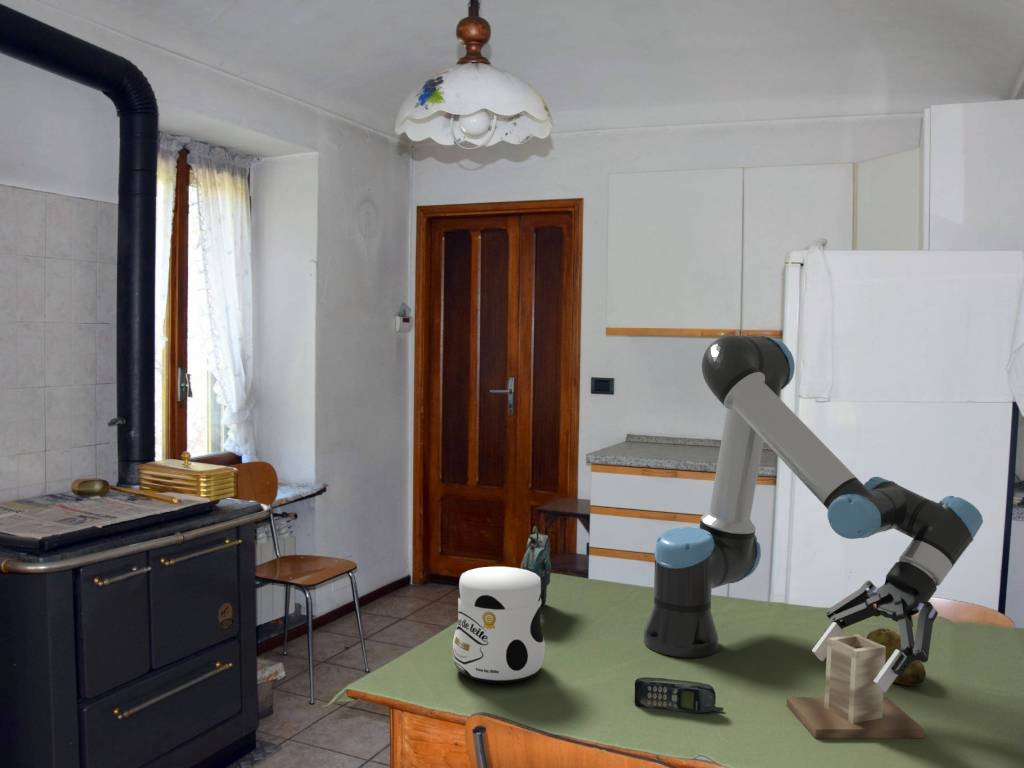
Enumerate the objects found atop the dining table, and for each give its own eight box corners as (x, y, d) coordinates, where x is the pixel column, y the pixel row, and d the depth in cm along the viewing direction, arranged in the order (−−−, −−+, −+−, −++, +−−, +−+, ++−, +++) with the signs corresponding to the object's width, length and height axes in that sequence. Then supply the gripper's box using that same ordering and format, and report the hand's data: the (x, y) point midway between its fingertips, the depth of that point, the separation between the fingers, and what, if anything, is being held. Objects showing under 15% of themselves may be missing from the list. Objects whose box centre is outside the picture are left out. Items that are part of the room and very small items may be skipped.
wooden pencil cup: (852, 723, 139) (856, 651, 138) (824, 707, 145) (827, 638, 144) (882, 717, 141) (885, 646, 140) (852, 701, 147) (856, 633, 146)
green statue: (527, 600, 203) (530, 517, 201) (554, 603, 201) (557, 519, 200) (511, 628, 183) (513, 537, 182) (540, 631, 182) (543, 539, 181)
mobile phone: (634, 680, 146) (724, 688, 143) (635, 673, 149) (723, 681, 146) (633, 709, 146) (723, 717, 143) (635, 701, 149) (723, 709, 146)
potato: (883, 689, 156) (885, 646, 156) (858, 662, 169) (860, 623, 169) (929, 691, 156) (931, 649, 155) (901, 664, 169) (903, 625, 168)
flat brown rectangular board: (815, 738, 136) (817, 685, 136) (786, 705, 148) (788, 656, 148) (923, 738, 137) (926, 685, 137) (886, 705, 149) (889, 657, 149)
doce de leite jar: (436, 681, 155) (438, 584, 154) (473, 648, 171) (475, 560, 170) (526, 698, 149) (529, 597, 148) (555, 662, 165) (558, 571, 164)
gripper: (993, 610, 136) (920, 715, 131) (871, 568, 159) (805, 657, 154) (972, 580, 134) (896, 687, 129) (851, 542, 157) (783, 631, 152)
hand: (846, 671), depth 141 cm, fingers open, 13 cm apart
